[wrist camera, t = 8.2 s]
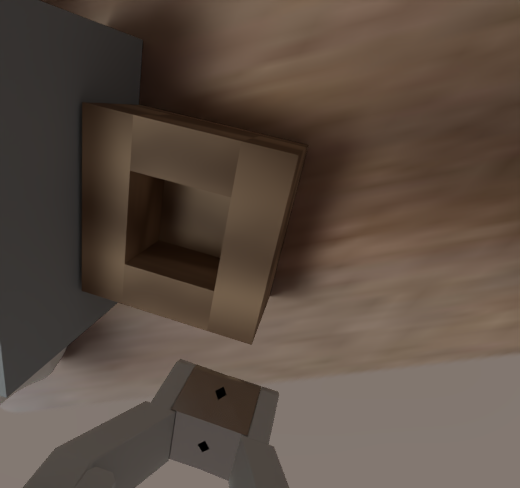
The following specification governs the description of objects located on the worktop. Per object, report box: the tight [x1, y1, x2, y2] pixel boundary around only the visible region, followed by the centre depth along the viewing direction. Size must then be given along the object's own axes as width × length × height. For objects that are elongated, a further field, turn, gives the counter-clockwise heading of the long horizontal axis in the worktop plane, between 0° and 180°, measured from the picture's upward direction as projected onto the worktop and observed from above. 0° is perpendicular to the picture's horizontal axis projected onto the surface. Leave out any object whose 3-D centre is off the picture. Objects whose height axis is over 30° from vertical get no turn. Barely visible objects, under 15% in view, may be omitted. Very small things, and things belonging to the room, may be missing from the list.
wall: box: [0, 0, 143, 398], centre depth 21 cm, size 20×3×12 cm, turn 168°
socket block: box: [82, 102, 308, 345], centre depth 23 cm, size 12×12×6 cm
